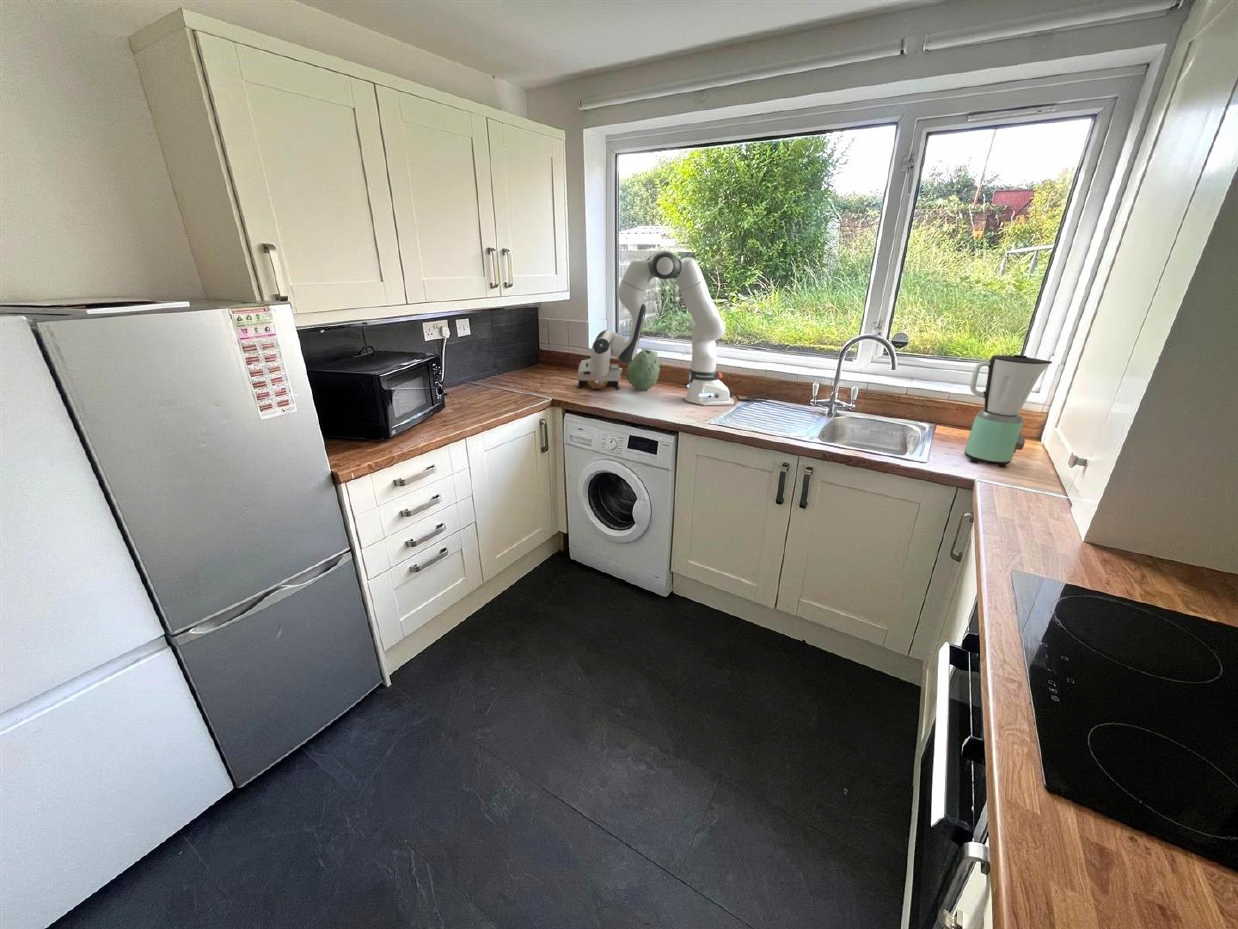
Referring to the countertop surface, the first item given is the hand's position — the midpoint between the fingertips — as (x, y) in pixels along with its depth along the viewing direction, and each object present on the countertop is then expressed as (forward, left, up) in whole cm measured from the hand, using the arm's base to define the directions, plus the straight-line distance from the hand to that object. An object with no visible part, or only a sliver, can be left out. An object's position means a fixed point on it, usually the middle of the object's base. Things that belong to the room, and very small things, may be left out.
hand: (598, 383), depth 240 cm
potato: (0, -7, -4) cm, 8 cm away
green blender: (-127, +89, -5) cm, 155 cm away
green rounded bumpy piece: (-22, -7, -5) cm, 24 cm away
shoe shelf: (0, -11, -4) cm, 12 cm away
